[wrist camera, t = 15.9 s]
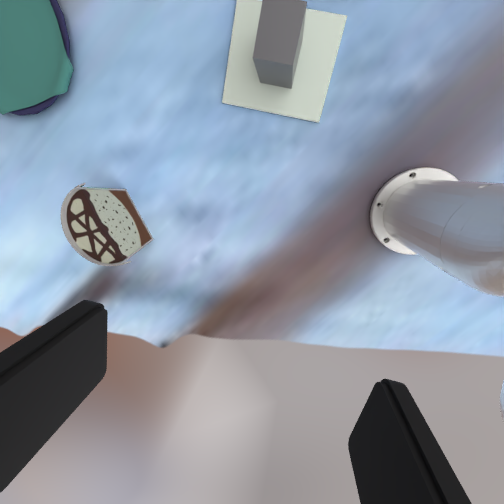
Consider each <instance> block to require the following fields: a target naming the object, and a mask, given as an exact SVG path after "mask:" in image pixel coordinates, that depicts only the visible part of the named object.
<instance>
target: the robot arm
mask: <svg viewBox="0 0 504 504" xmlns="http://www.w3.org/2000/svg"><path fill="white" fill-rule="evenodd" d="M409 174H411V177H409ZM377 203H380V204H379V206H377ZM370 223H371V228H372V230H373V233H374V235H375V236H376V238H377V239H378V240H379V241H380V242H381V243H382V244H383V245H384V246H385V247H387V248H388V249H390V250H392V251H394V252H397V253H401V254H408V255H416V254H418V255H420V256H421V257H423V258H424V259H426V260H427V261H429V262H430V263H432V264H434V265H435V266H437V267H438V268H440V269H441V270H443V271H445V272H446V273H448V274H449V275H451V276H453V277H454V278H456V279H457V280H459V281H461V282H462V283H464V284H465V285H467V286H469V287H471V288H473V289H475V290H477V291H480V292H482V293H485V294H489V295H494V296H500V297H504V184H503V183H485V182H467V181H459V180H458V179H457V178H456V177H454V176H453V175H452V174H450V173H448V172H447V171H444V170H441V169H438V168H430V167H420V168H414V169H410V170H407V171H404V172H402V173H400V174H398V175H396V176H394V177H393V178H392V179H390V180H389V181H388V182H386V183H385V185H384V186H383V187H382V188H381V189H380V190H379V192H378V193H377V195H376V196H375V199H374V201H373V203H372V206H371V211H370ZM384 238H386V240H384ZM106 365H107V310H105V309H104V306H103V304H100V303H96V302H93V301H89V300H83V301H81V302H80V303H78V304H76V305H75V306H73V307H72V308H70V309H69V310H67V311H65V312H64V313H62V314H61V315H59V316H57V317H56V318H54V319H53V320H51V321H50V322H48V323H46V324H45V325H43V326H42V327H40V328H39V329H37V330H35V331H34V332H32V333H31V334H29V335H27V336H26V337H24V338H23V339H21V340H20V341H18V342H16V343H15V344H13V345H12V346H10V347H9V348H7V349H5V350H4V351H2V352H1V353H0V492H2V491H3V490H4V489H5V488H6V487H7V486H8V485H9V483H10V482H11V481H12V480H13V479H14V478H15V477H16V476H17V474H18V473H19V472H20V471H21V470H22V469H23V468H24V467H25V466H26V464H27V463H28V462H29V461H30V460H31V459H32V458H33V457H34V455H35V454H36V453H37V452H38V451H39V450H40V449H41V448H42V446H43V445H44V444H45V443H46V442H47V441H48V439H49V438H50V437H51V436H52V435H53V434H54V433H55V432H56V431H57V430H58V428H59V427H60V426H61V425H62V424H63V423H64V422H65V420H66V419H67V418H68V417H69V416H70V415H71V414H72V412H74V410H75V409H76V408H77V407H78V406H79V405H80V404H81V402H82V401H83V400H84V399H85V398H86V397H87V396H88V395H89V393H90V392H91V391H92V390H93V389H94V388H95V387H96V386H97V384H98V383H99V382H100V381H101V380H102V379H103V377H104V375H105V373H106ZM500 410H501V415H502V418H503V421H504V381H503V385H502V390H501V395H500ZM348 446H349V453H350V458H351V462H352V467H353V471H354V476H355V480H356V485H357V489H358V494H359V498H360V502H361V504H471V502H470V500H469V498H468V496H467V495H466V493H465V491H464V489H463V487H462V486H461V484H460V482H459V481H458V479H457V477H456V475H455V473H454V471H453V470H452V468H451V466H450V464H449V462H448V460H447V459H446V457H445V455H444V453H443V451H442V450H441V448H440V446H439V444H438V443H437V441H436V439H435V437H434V435H433V434H432V432H431V430H430V428H429V426H428V425H427V423H426V421H425V419H424V417H423V415H422V414H421V412H420V410H419V408H418V407H417V405H416V403H415V401H414V399H413V398H412V396H411V394H410V392H409V390H408V389H407V387H406V386H405V385H404V384H403V383H400V382H396V381H392V380H388V379H383V380H382V381H381V382H377V383H376V384H375V385H374V387H373V390H372V392H371V394H370V396H369V398H368V400H367V402H366V404H365V406H364V408H363V410H362V412H361V414H360V417H359V419H358V421H357V423H356V425H355V427H354V429H353V431H352V433H351V435H350V438H349V443H348Z"/></svg>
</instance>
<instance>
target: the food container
mask: <svg viewBox="0 0 504 504" xmlns="http://www.w3.org/2000/svg"><path fill="white" fill-rule="evenodd" d="M85 184H86V183H83V184H80V185H78V186H76V187H75V188H74V189H72V190H71V191H70V192H69V193H68V194H67V196H66V197H65V199H64V201H63V204H62V208H61V224H62V228H63V231H64V234H65V236H66V238H67V240H68V241H69V243H70V244H71V246H72V247H73V248H74V249H75V250H76V251H77V253H79V254H80V255H81V256H82V257H84V258H85V259H87V260H88V261H90V262H93V263H95V264H98V265H103V266H118V265H123V264H127V263H130V262H131V261H129V262H125V261H126V260H127V259H129V258H130V257H131V256H133V255H134V254H135V253H136V252H138V251H139V250H140V249H142V248H143V247H144V246H145V245H147V244H148V243H149V242H151V241H152V240H153V237H152V235H151V234H150V232H149V230H148V228H147V226H146V225H145V223H144V221H143V219H142V217H141V215H140V214H139V212H138V210H137V208H136V206H135V205H134V203H133V201H132V199H131V197H130V195H129V194H128V192H127V190H126V189H110V188H89V187H82V186H84V185H85Z"/></svg>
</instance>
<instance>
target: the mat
mask: <svg viewBox="0 0 504 504" xmlns="http://www.w3.org/2000/svg"><path fill="white" fill-rule="evenodd" d="M261 6H262V1H261V0H237V3H236V10H235V16H234V23H233V30H232V37H231V44H230V51H229V58H228V65H227V71H226V78H225V85H224V92H223V99H222V103H224V104H229V105H234V106H239V107H244V108H249V109H254V110H258V111H263V112H268V113H273V114H278V115H283V116H288V117H293V118H298V119H302V120H307V121H312V122H317V123H319V121H320V117H321V113H322V109H323V106H324V102H325V98H326V94H327V91H328V87H329V83H330V79H331V75H332V72H333V68H334V64H335V60H336V57H337V53H338V49H339V45H340V41H341V38H342V34H343V30H344V26H345V22H346V19H347V16H346V15H340V14H334V13H329V12H323V11H317V10H312V9H306V15H305V23H304V31H303V40H302V45H301V49H300V54H299V58H298V63H297V67H296V72H295V76H294V81H293V85H292V89H289V88H284V87H279V86H274V85H269V84H264V83H260V81H259V77H258V74H257V71H256V67H255V64H254V61H253V52H254V47H255V41H256V35H257V29H258V23H259V18H260V12H261Z"/></svg>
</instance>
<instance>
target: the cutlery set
mask: <svg viewBox="0 0 504 504" xmlns="http://www.w3.org/2000/svg"><path fill="white" fill-rule="evenodd" d="M69 56H70V42H69V37H68V33H67V28H66V24H65V19H64V15H63V13H62V11H61V9H60V7H59V4H58V2H57V0H0V113H1V114H2V115H4V114H5V113H8V112H9V113H13V114H16V115H29V114H37V113H39V112H41V111H43V110H44V109H46V108H48V107H49V106H51V105H52V104H53V103H54V101H55V100H56V99H57V97H58V96H59V94H63V93H65V92H67V91H68V86H69V84H70V79H71V77H72V72H73V71H74V70H73V67H72V65H71V63H70V61H69Z"/></svg>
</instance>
